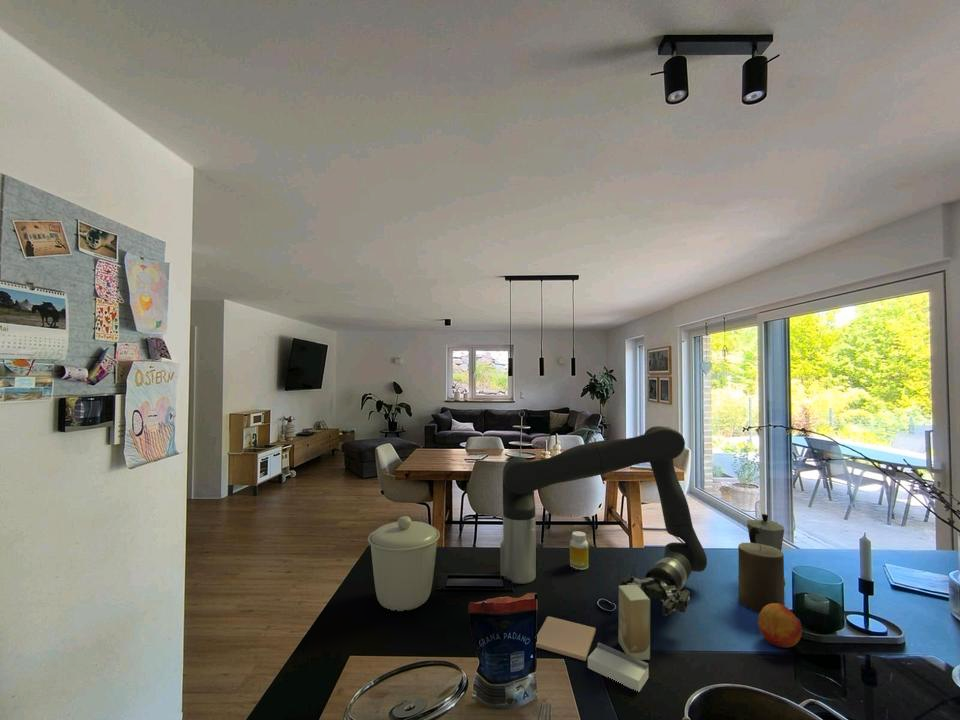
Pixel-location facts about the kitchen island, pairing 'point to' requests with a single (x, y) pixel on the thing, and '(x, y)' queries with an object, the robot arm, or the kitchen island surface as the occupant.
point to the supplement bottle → (579, 551)
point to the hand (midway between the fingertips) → (643, 604)
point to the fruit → (779, 625)
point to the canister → (403, 563)
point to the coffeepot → (766, 532)
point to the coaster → (565, 638)
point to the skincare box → (634, 622)
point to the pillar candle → (760, 575)
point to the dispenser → (618, 666)
